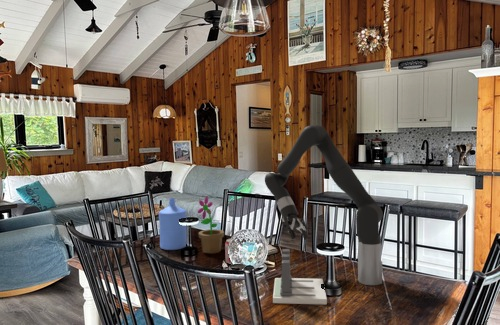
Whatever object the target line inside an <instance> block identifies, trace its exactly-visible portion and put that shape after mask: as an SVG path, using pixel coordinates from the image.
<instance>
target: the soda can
mask: <svg viewBox="0 0 500 325" xmlns="http://www.w3.org/2000/svg"><path fill="white" fill-rule="evenodd" d="M230 240H231V238H228V239H226V241H225V243H224V245H225V246H224V250H225V252H224V253H225V254H224V256H225V257H224V258H225V263H226V264H227V263H229V264H231V261H230V258H229V254H228V246H229V242H230Z"/></svg>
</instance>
